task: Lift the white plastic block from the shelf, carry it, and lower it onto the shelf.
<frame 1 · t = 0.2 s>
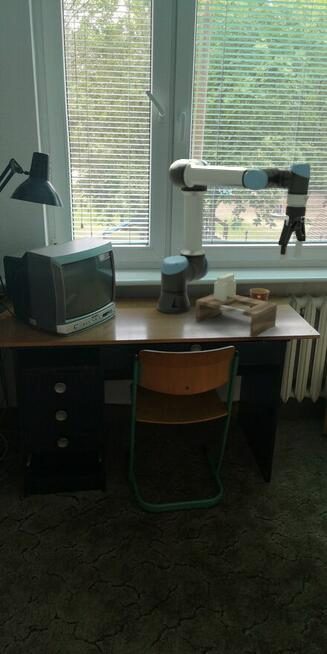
hand: (290, 259, 195), 28 cm above the table, fingers open, 13 cm apart
shelf: (234, 323, 206), on the table
white plastic block: (224, 297, 208), point 9 cm above the table, touching shelf
mug: (257, 314, 218), on the table
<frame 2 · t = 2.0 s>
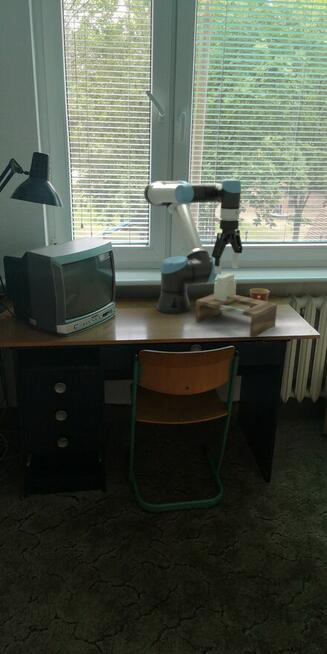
hand: (226, 270, 204), 21 cm above the table, fingers open, 13 cm apart
nothing on the table moved.
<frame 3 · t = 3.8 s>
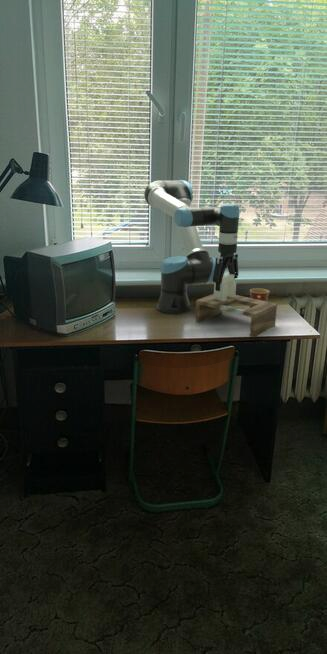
hand: (224, 295, 208), 11 cm above the table, fingers closed on white plastic block, 9 cm apart
white plastic block: (224, 297, 208), point 10 cm above the table, touching gripper, shelf
everything else where it was.
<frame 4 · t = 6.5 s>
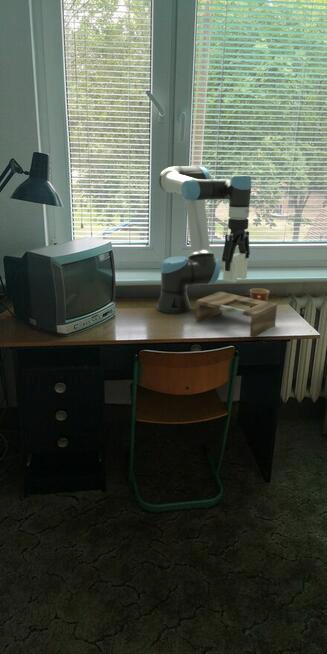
hand: (234, 276, 190), 22 cm above the table, fingers closed on white plastic block, 9 cm apart
white plastic block: (234, 279, 190), point 21 cm above the table, touching gripper
everything else where it was.
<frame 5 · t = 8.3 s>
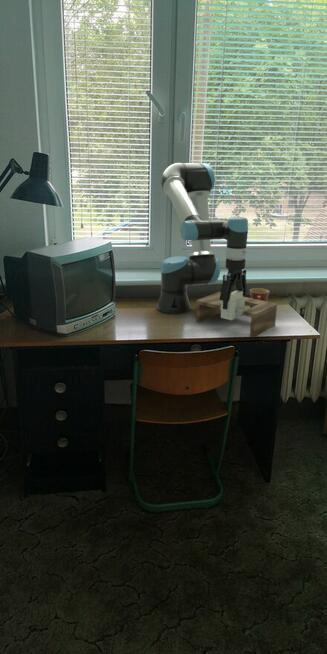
hand: (232, 313, 195), 7 cm above the table, fingers closed on white plastic block, 9 cm apart
white plastic block: (232, 316, 196), point 6 cm above the table, touching gripper
everything else where it was.
when the fingers open (5 cm above the table, at t = 9.5 s): white plastic block drops 2 cm, resting on shelf.
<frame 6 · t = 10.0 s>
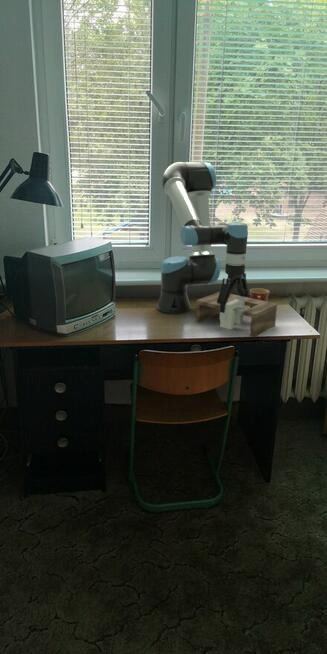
hand: (232, 315, 196), 6 cm above the table, fingers open, 13 cm apart
white plastic block: (231, 324, 197), point 2 cm above the table, touching shelf
everything else where it was.
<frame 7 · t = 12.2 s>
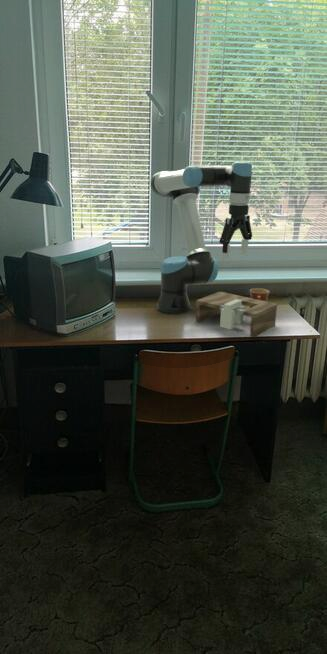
hand: (234, 258, 196), 28 cm above the table, fingers open, 13 cm apart
nothing on the table moved.
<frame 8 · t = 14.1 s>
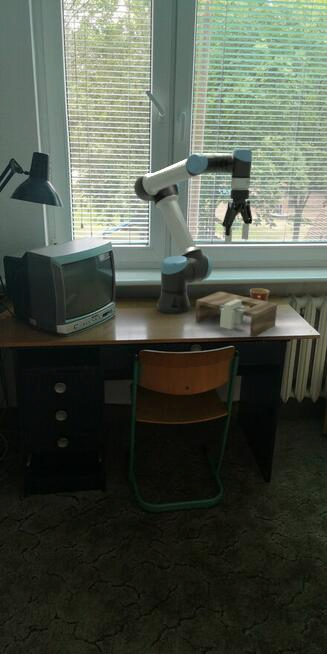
hand: (236, 241, 205), 33 cm above the table, fingers open, 13 cm apart
nothing on the table moved.
at the end: white plastic block inside the target area (0.0 cm from its centre), point 2.3 cm above the table; white plastic block touching shelf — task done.
